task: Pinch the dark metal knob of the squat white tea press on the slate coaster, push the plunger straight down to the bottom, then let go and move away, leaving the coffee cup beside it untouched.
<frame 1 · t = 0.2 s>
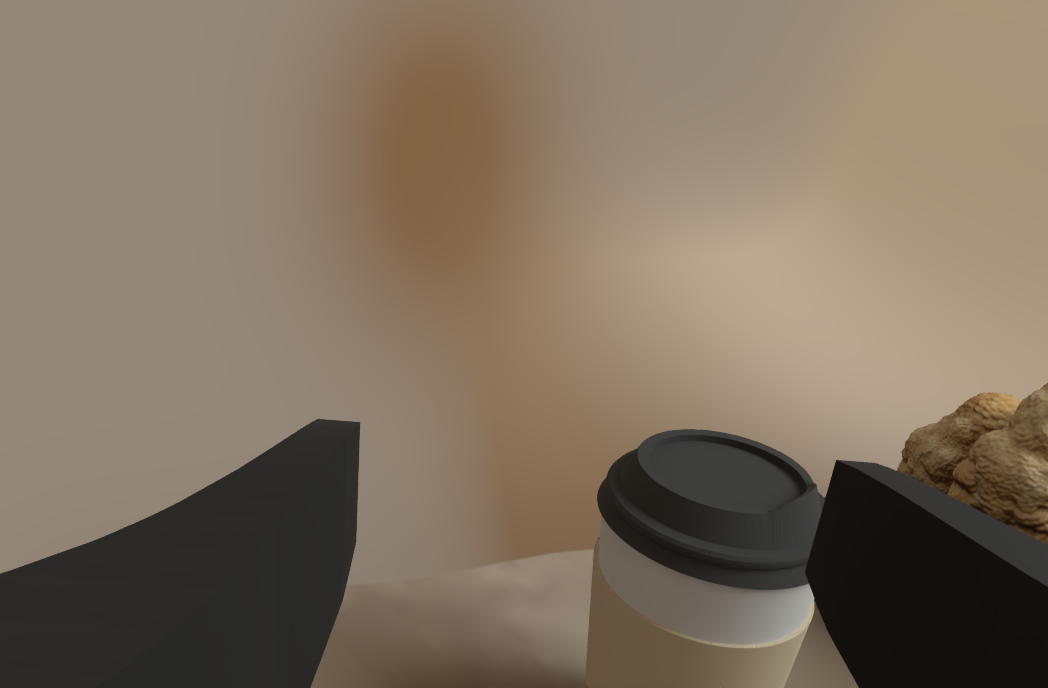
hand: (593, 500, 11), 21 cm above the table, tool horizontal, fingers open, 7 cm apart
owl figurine: (995, 650, 42), on the table
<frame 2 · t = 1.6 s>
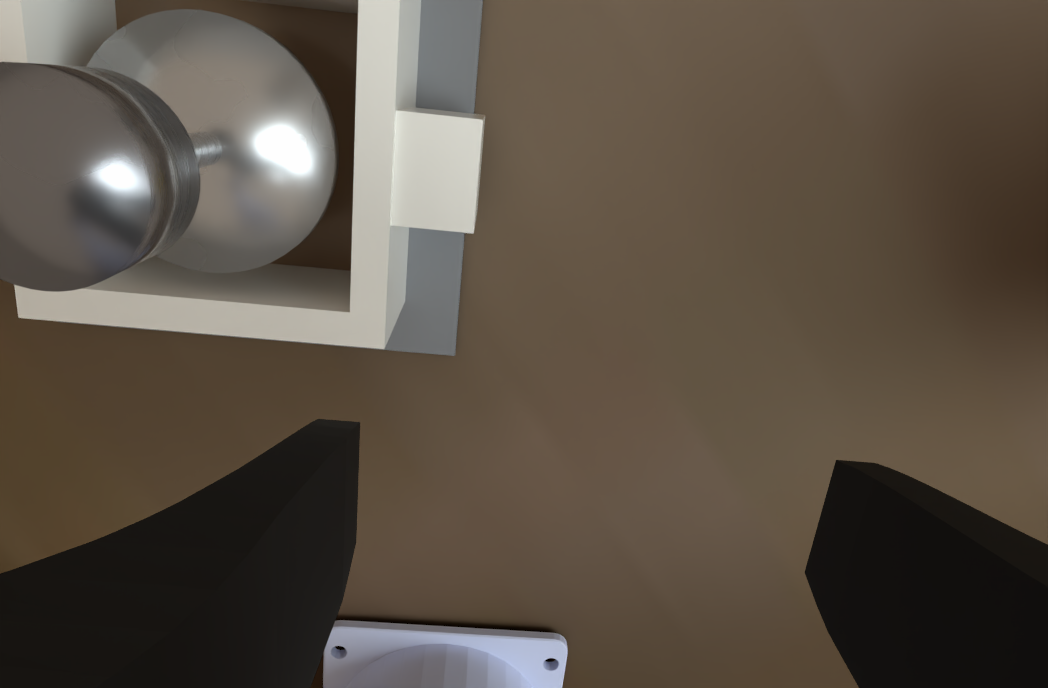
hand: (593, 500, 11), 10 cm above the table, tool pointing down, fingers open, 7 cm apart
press: (259, 137, 19), on the table
plunger: (145, 160, 13), point 7 cm above the table, slide at 0.0 cm
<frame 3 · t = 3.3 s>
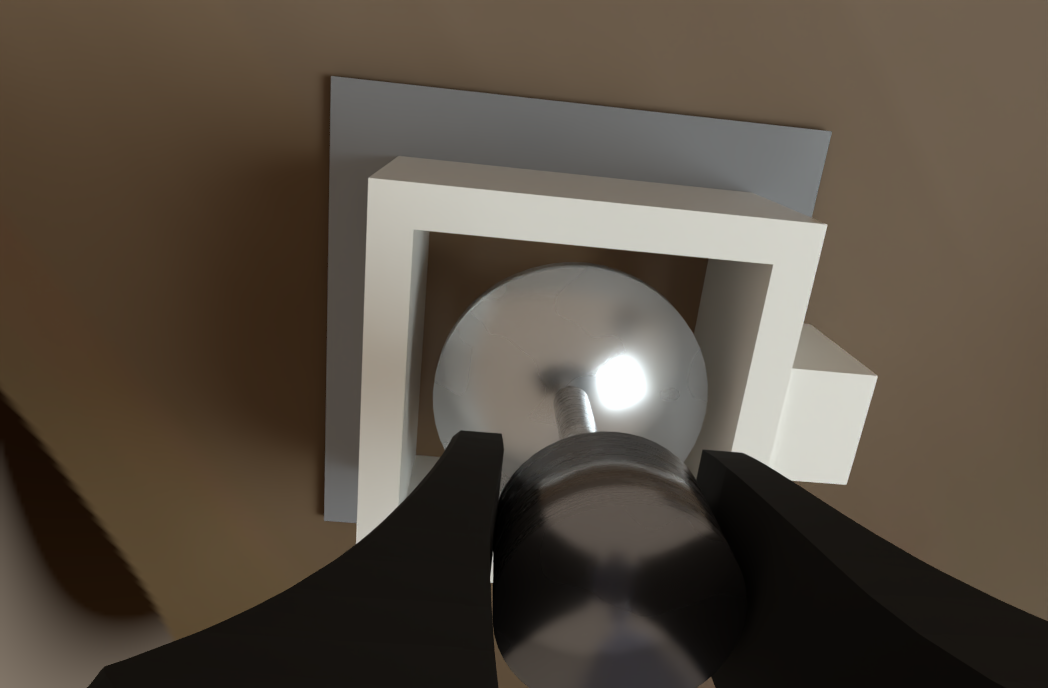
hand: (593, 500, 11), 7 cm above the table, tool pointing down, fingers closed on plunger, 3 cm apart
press: (556, 339, 18), on the table
plunger: (587, 474, 12), point 7 cm above the table, slide at 0.0 cm, touching gripper
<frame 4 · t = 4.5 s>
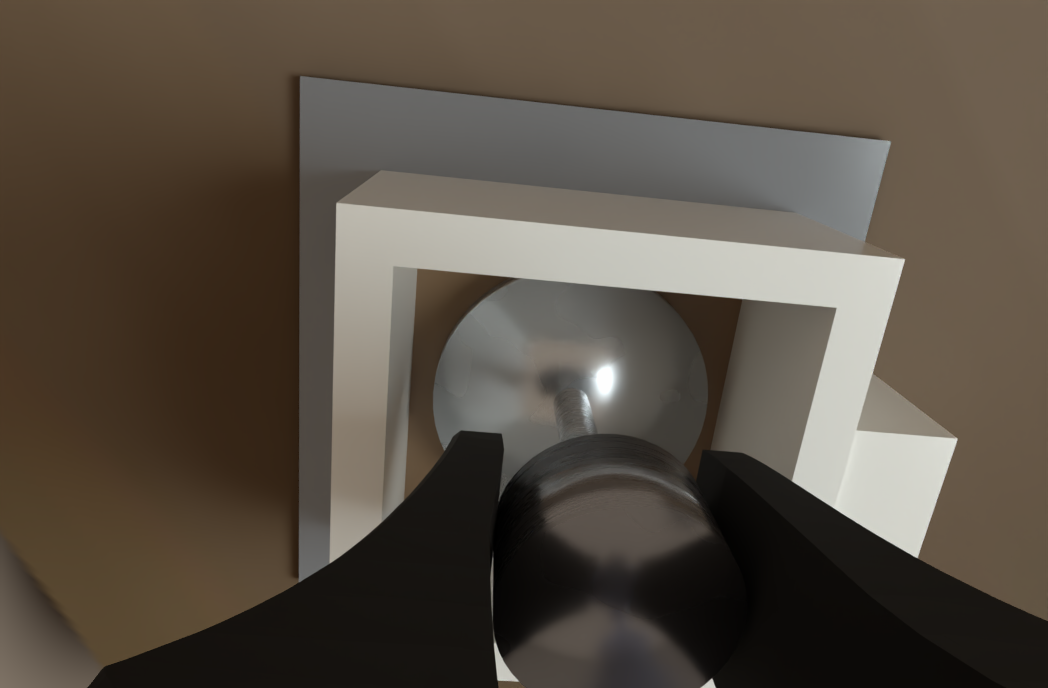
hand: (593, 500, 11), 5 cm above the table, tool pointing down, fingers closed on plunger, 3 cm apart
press: (565, 381, 15), on the table
plunger: (587, 476, 12), point 4 cm above the table, slide at 2.6 cm, touching gripper
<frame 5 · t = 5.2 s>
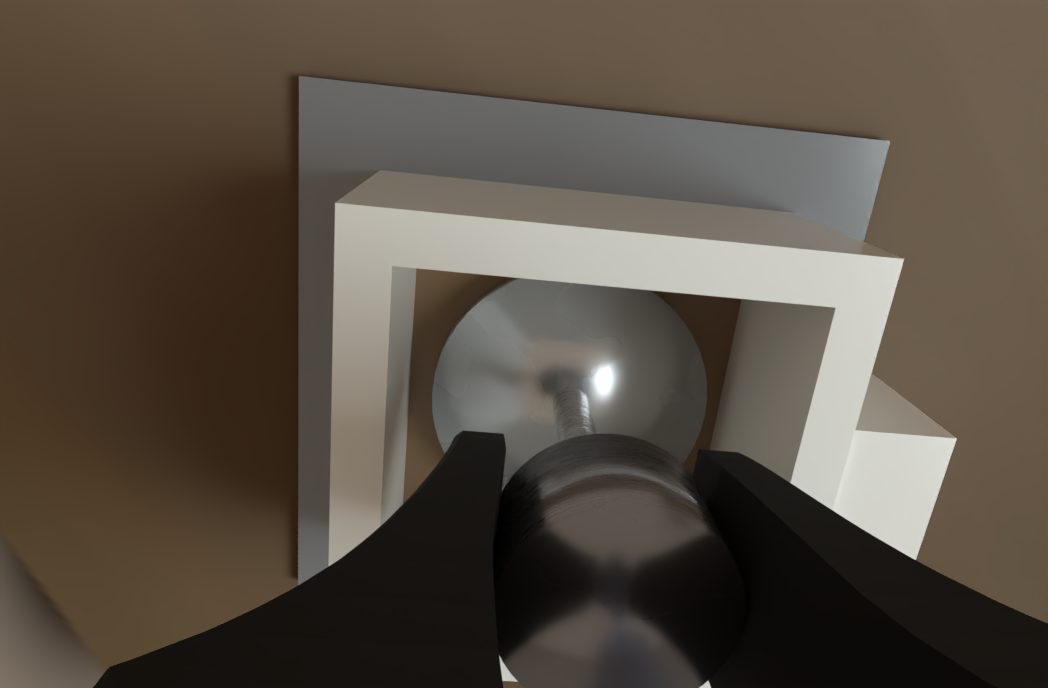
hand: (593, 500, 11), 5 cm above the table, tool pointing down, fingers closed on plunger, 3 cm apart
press: (564, 381, 15), on the table
plunger: (586, 476, 12), point 4 cm above the table, slide at 2.6 cm, touching gripper
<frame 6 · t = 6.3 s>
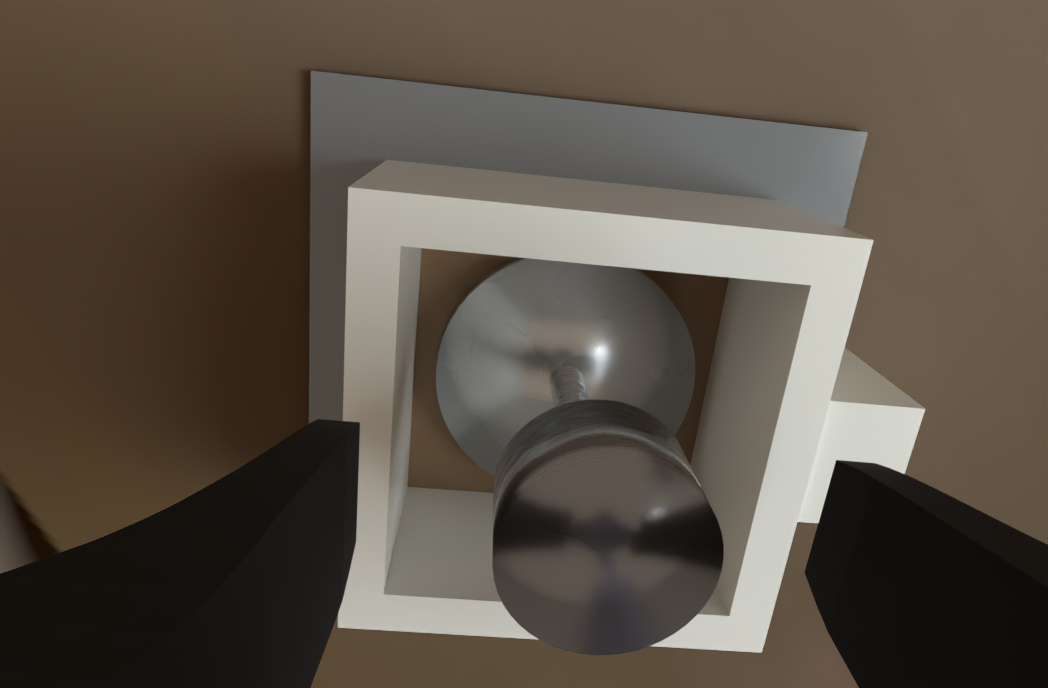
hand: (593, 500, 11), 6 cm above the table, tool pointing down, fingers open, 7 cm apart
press: (561, 360, 16), on the table
plunger: (580, 443, 12), point 4 cm above the table, slide at 2.6 cm
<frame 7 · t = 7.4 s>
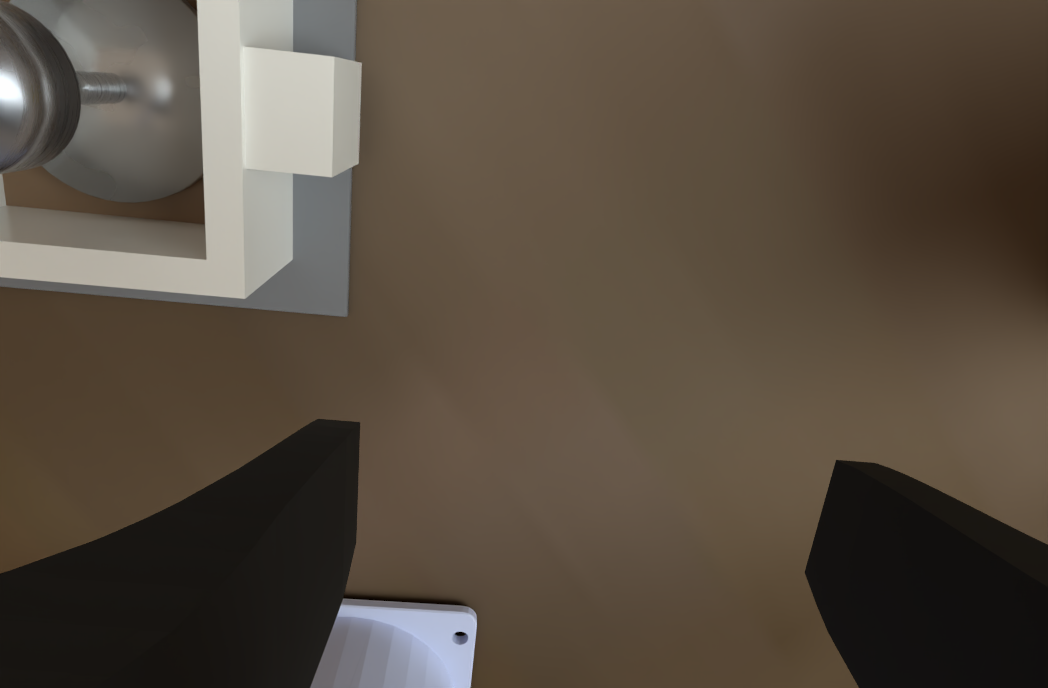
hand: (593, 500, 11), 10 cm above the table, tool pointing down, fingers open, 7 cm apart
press: (134, 88, 18), on the table
plunger: (43, 87, 15), point 4 cm above the table, slide at 2.6 cm
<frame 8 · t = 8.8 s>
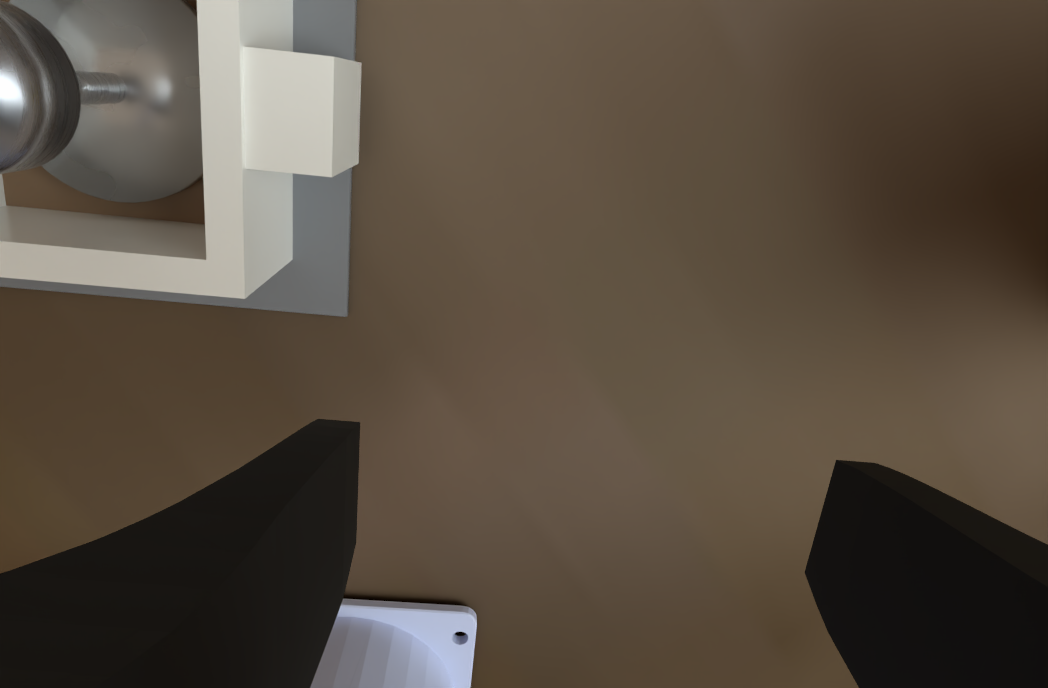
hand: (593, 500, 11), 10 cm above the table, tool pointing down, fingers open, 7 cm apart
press: (134, 88, 18), on the table
plunger: (42, 87, 15), point 4 cm above the table, slide at 2.6 cm
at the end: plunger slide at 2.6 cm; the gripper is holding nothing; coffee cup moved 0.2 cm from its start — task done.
